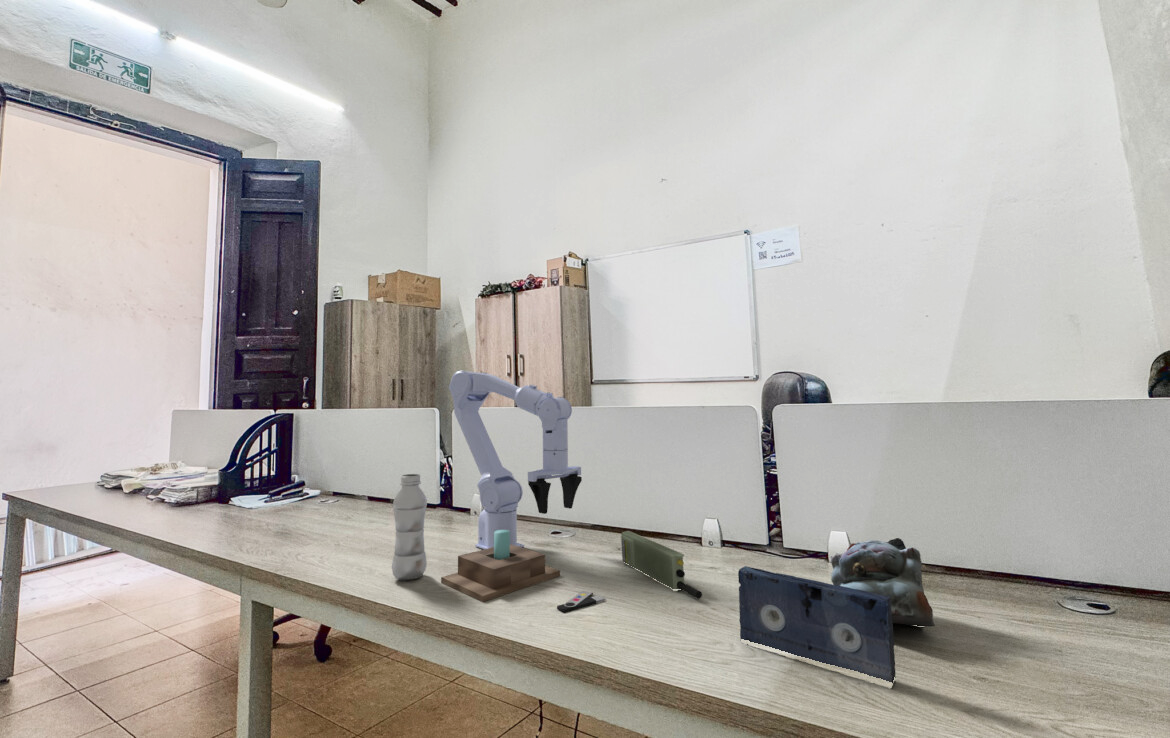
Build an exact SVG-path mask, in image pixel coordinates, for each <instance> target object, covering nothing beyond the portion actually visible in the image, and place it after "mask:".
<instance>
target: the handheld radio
mask: <svg viewBox="0 0 1170 738" xmlns="http://www.w3.org/2000/svg"><path fill="white" fill-rule="evenodd" d="M620 541H621V556H622V557H621V558H622V559H621V560H622V562H625V563H627V564H629V565H630V566H632V567H634V568H636V569H638V570H640V571H642V572H643V573H645V574H647V575H649V576H650V577H652V578H654V579H656V580H657V581H659V582H661V583H663V584H665V585H667V586H669V587H671V588H672V589H681V590H682V591H684V592H685V593H687V594H688V595H690V596H692V597H694V598H695V599H697V600H700V599H701V598H702V597H703V592H702V591H701V590H699V589H697V588H695V587H693V586H691V585H689V584H687V583H685V571H684V570H685V569H684V564H685V563H684V557H685V554H683V553H681V552H680V551H677V550H674V549H672V548H670V547H667V546H665V545H663V544H660V543H658V542H656V541H654V540H651V539H649V538H647V537H644V536H641V535H639V534H637V533H634V532H632V531H630V530H625V531H622V532H621V537H620ZM625 563H624V564H625ZM627 564H626V565H627ZM630 566H629V567H630ZM632 567H631V568H632ZM634 568H633V569H634ZM643 573H642V574H643ZM650 577H649V578H650ZM657 581H656V582H657ZM659 582H658V583H659Z"/></svg>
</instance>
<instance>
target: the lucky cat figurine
mask: <svg viewBox="0 0 1170 738" xmlns="http://www.w3.org/2000/svg"><path fill="white" fill-rule="evenodd" d="M922 562H923V561H922V558H921V553H920V551H919V549H917V548H915V547H912V546H909V547H906V544H905V542H904V541H903V539H902V538H899V537H895V538H893V539H890V540H889V541H887V542H886V541H882V540H875V539H873V540H872V539H868V540H866V541H861V542H859V541H858V542H856V543H854V542H853V543H851V544H849V546H848V548H846V551H845V552H843V553H837V552H836V553H835V555H834V556H832V555H830V563H831V566H832V571H831V574H830V576H831V577H830V580H831V583H832V585H837V586H843V587H848V588H852V589H858V590H863V591H867V592H871V593H875V594H879V595H886V596H891V618H892V622H893V624H898V625H906V624H907V625H906V626H910V625H917V626H925V627H931V628H932V627H935V626H936V625H935V624H934V620H933V619H934V618H933V617H934V614H933V612H934V611H933V608H932V606H931V605H930V603H929V600H928V598H927V596H926V593H925V589H924V584H923V576H922V567H923V563H922Z"/></svg>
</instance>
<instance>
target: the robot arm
mask: <svg viewBox="0 0 1170 738" xmlns="http://www.w3.org/2000/svg"><path fill="white" fill-rule="evenodd" d="M537 388H538V386H537V385H535V384H529V385H528V384H527V385H524V386H522V387H520V386H518V385H515V384H513V383H511V382H509V381H507V380H504V379H503V378H501V377H498V376H496V375H494V374H489V373H487V372H483V371H482V372H475V371H466V370H464V369H463V370H462V369H461V370H458V371H456V372H454V374H452V377H451V380H450V383H449V385H448V389H449V392H450V395H451V396H452V401H453V410H454V415H455V418H456V420H457V422H458V425H459V427H460V429H461V431H462V433H463V436H464V438H465V441H466V443H467V445H468V448H469V450H470V453H471V454H472V457H473V459H474V462H475V464H476V466H477V469H478V471H479V473H480V476H481V477H480V479H479V481H478V482H477V486H476V487H477V488H478V491H479V501H480V504H481V506H482V507H483V508H484V509H483V510H482V511H481V512H480V513H479V516H478V519H477V520H478V524H477V525H478V529H477V533H478V539H477V540H478V541H477V543H475V544H474V546H475V547H477V548H479V549H481V550H484V549H488V548H492V547H494V532H495V531H497V530H509V531H510V544H512V545H515V546H518V547H521V548H524V547H525V544H524V543H520V542H518V539H517V537H518V534H517V532H518V530H517V526H518V523H517V520H518V518H517V517H518V516H517V515H518V513H517V510H518V505H519V502H520V501H521V500H522V499H523V493H524V492H523V487H522V485H521V483H520V482H519V481H518V480H517V479H516V478H515V476H514V475H513V473H512V471H510V470H508V469H507V468H506V467H504V466H503V464H502V462H501V460H500V457H499V456H498V453H497V451H496V449H495V447H494V445H493V442H492V440H491V438H490V435H489V433H488V430H487V429H486V426H485V424H484V422H483V419H482V418H481V415H480V413H479V410H480V408H481V407H482V405H484V403H485V401H486V400H487V398H489V397H488V396H489V395H490V394H491V393H495V394H497V395H500V396H502V397H505V398H508V399H510V400H513V401H514V403H515V405H516V408H519V409H521V410H523V411H526V412H528V413H530V414H533V415H534V416H537V417H538V418H539V420H540V421H541V428H542V469H537V470H533V471H527V482H528V487H529V488H530V490H531V492H532V493H533V494H532V495H533V497H534V498H535V502H536V506H537V509H538V513H540V514H543V515H544V514H545V515H547V514H548V506H549V501H548V500H549V493H550V490H551V489H550V488H551V485H552V483H551V482H547V480H551V479H558V478H559V480H560V485H561V488H562V499H563V500H562V501H563V508H566V509H573V507H574V506H573V505H574V500H575V497H576V494H577V492H578V488H579V487H580V485H581V483H582V481H583V479H582V466H579V465H578V466H577V465H574V466H569V458H568V457H569V451H568V450H569V444H568V443H569V441H568V440H569V438H568V437H569V436H568V434H569V433H568V430H569V429H568V420H569V418H570V417H571V415H572V413H573V412H572V411H573V409H572V404H571V403H570V401H569V400H568V399H567V398H565V397H563V396H558V397H554V395H553V392H549V391H548V392H545V391H542V390H539V389H537Z"/></svg>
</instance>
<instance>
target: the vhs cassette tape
mask: <svg viewBox="0 0 1170 738" xmlns="http://www.w3.org/2000/svg"><path fill="white" fill-rule="evenodd" d="M737 572H738V584H739V586H738V602H739V603H738V604H739V607H738V608H739V610H738V611H739V626H740V628H739V632H740V633H739V638H740V640H741V639H744V640H749V641H750V642H754V643H758V644H762V645H765V646H769V647H772V648H775V649H779V650H781V651H785V652H788V653H791V654H794V655H797V656H801V657H805V658H809V659H812V660H815V661H819V662H822V663H826V664H830V665H835V666H838V667H842V668H846V669H850V670H854V671H858V672H860V673H864V674H867V675H869V676H873V677H876V678H881V679H883V680H886V681H889V682H892V683H893V680H894V677H895V678H896V660H895V658H896V657H895V638H894V623H893V622H892V618H891V596H886V595H879V594H875V593H871V592H867V591H863V590H858V589H852V588H848V587H843V586H837V585H833V583H832V584H831V583H827V582H823V581H819V580H815V579H809V578H805V577H799V576H798V577H797V576H794V575H789V574H783V573H778V572H772V571H769V570H764V569H761V568H757V567H756V568H755V567H752V566H747V565H744V566H743V567H740V568H739V569H738V571H737Z"/></svg>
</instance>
